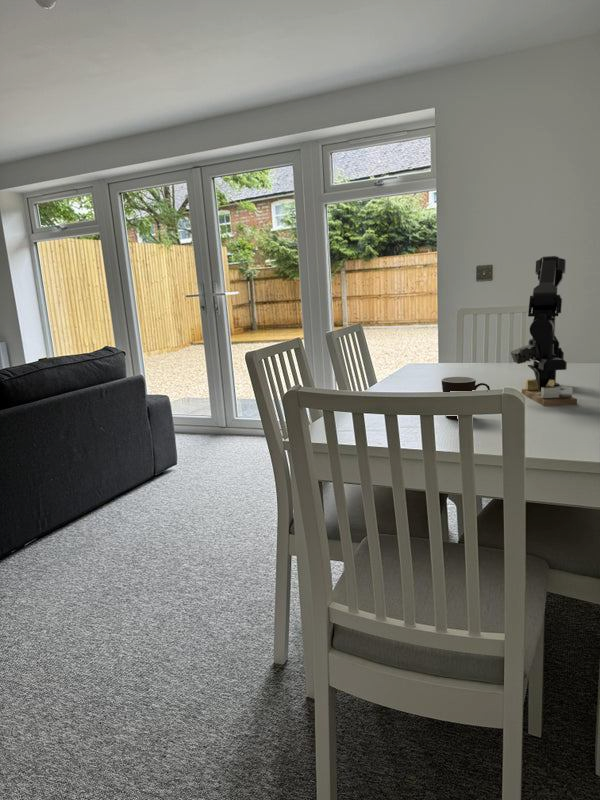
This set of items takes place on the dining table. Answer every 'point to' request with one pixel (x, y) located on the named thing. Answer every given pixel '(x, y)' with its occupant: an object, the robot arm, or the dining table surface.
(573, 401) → the copper base
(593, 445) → the dining table surface
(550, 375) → the robot arm
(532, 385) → the brass lever
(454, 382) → the coffee mug
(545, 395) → the steel lever handle
